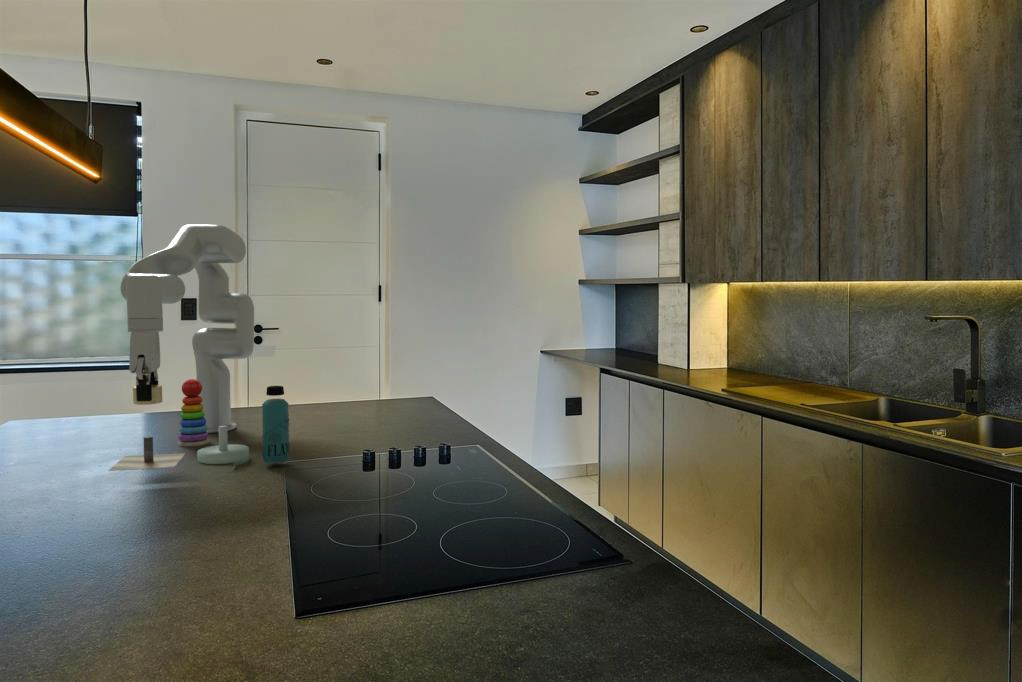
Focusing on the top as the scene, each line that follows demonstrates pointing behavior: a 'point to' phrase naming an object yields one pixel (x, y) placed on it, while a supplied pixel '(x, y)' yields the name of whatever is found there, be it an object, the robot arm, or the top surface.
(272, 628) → the top surface
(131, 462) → the oak stand
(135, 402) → the brass ring
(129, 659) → the top surface
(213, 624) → the top surface
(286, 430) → the beverage bottle
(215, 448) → the sage hub
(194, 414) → the stacking toy
